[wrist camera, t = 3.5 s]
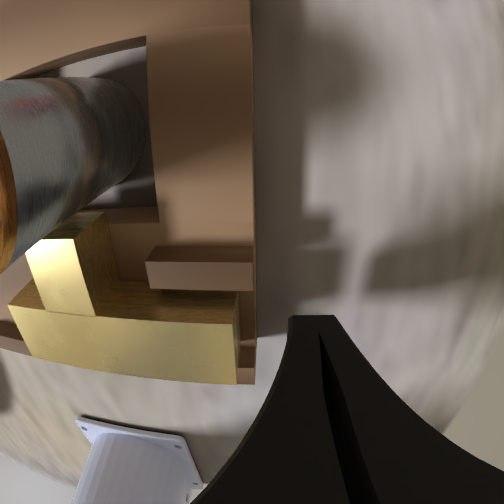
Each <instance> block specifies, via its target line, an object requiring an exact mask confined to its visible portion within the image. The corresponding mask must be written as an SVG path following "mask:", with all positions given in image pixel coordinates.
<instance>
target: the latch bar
mask: <svg viewBox="0 0 504 504" xmlns="http://www.w3.org/2000/svg"><path fill="white" fill-rule="evenodd" d="M25 254H26V257H27V260H28V263H29V266H30V269H31V272H32V275H33V279H32V280H31V281H30V282H29V283H28V284H27V285H26V286H25V287H24V288H23V289H22V290H21V291H20V292H19V293H18V294H17V295H16V296H15V297H14V298H13V299H12V300H11V301H10V302H9V303H8V308H9V310H10V312H11V314H12V316H13V319H14V321H15V323H16V325H17V327H18V329H19V331H20V333H21V335H22V337H23V339H24V341H25V343H26V345H27V347H28V349H29V351H30V353H31V354H32V356H33V357H35V358H39V359H43V360H47V361H52V362H56V363H61V364H66V365H70V366H75V367H81V368H86V369H91V370H97V371H103V372H109V373H116V374H122V375H129V376H137V377H144V378H153V379H162V380H172V381H182V382H195V383H210V384H229V385H237V377H238V367H239V358H240V348H241V331H240V311H239V291H222V290H180V289H151V288H150V284H149V281H135V280H120V277H119V273H118V269H117V265H116V260H115V256H114V252H113V247H112V242H111V238H110V233H109V228H108V222H107V217H106V212H105V211H101V212H83V213H75V214H73V215H72V216H71V217H69V218H68V219H67V220H65V221H64V222H63V223H62V224H60V225H59V226H58V227H56V228H55V229H54V230H53V231H51V232H50V233H49V234H48V235H46V236H45V237H44V238H43V239H41V240H40V241H39V242H38V243H36V244H35V245H34V246H33V247H32V248H30V249H29V250H28V251H27V252H26V253H25Z"/></svg>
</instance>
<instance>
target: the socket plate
mask: <svg viewBox="0 0 504 504" xmlns="http://www.w3.org/2000/svg"><path fill="white" fill-rule="evenodd" d="M142 46H146V51H147V85H148V105H149V121H150V135H151V147H152V158H153V169H154V178H155V187H156V196H157V204H158V207H133V208H112V209H94V210H79V211H77V212H76V213H83V212H101V211H105V212H106V217H107V222H108V228H109V233H110V238H111V242H112V247H113V252H114V256H115V260H116V265H117V269H118V273H119V277H120V280H135V281H149V284H150V288H151V289H180V290H222V291H239V311H240V331H241V348H240V358H239V367H238V377H237V384H253V385H255V367H256V347H257V306H256V228H255V160H254V100H253V46H252V0H0V81H4V80H16V79H30V78H31V77H34V76H36V75H39V74H42V73H45V72H47V71H50V70H53V69H56V68H59V67H62V66H66V65H69V64H72V63H75V62H79V61H82V60H86V59H89V58H93V57H97V56H101V55H105V54H109V53H113V52H118V51H122V50H127V49H132V48H137V47H142ZM32 279H33V275H32V272H31V269H30V266H29V263H28V260H27V257H26V254H25V253H24V254H23V255H22V256H21V257H20V258H19V259H18V260H16V261H15V262H14V263H13V264H12V265H11V266H10V267H8V268H7V269H6V270H5V271H4V272H3V273H2V274H1V275H0V348H3V349H7V350H10V351H14V352H18V353H21V354H25V355H29V356H32V354H31V353H30V351H29V349H28V347H27V345H26V343H25V341H24V339H23V337H22V335H21V333H20V331H19V329H18V327H17V325H16V323H15V321H14V319H13V316H12V314H11V312H10V310H9V308H8V303H9V302H10V301H11V300H12V299H13V298H14V297H15V296H16V295H17V294H18V293H19V292H20V291H21V290H22V289H23V288H24V287H25V286H26V285H27V284H28V283H29V282H30V281H31V280H32Z"/></svg>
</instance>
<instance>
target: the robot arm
mask: <svg viewBox="0 0 504 504" xmlns="http://www.w3.org/2000/svg"><path fill="white" fill-rule="evenodd" d="M75 422H76V424H77V425H78V426H79V428H80V429H81V430H82V432H83V433H84V435H85V436H86V437H87V438H88V440H89V441H90V442H91V444H92V447H91V450H90V452H89V455H88V458H87V460H86V463H85V466H84V469H83V471H82V474H81V477H80V480H79V483H78V486H77V488H76V492H75V494H74V497H73V500H72V503H71V504H189V500H190V493H191V488H192V489H203V482H202V480H201V478H200V475H199V473H198V471H197V468H196V466H195V464H194V461H193V459H192V456H191V454H190V451H189V449H188V446H187V443H186V441H185V439H184V438H183V437H181V436H178V435H171V434H164V433H157V432H150V431H144V430H138V429H133V428H128V427H122V426H118V425H113V424H108V423H104V422H99V421H95V420H91V419H87V418H83V417H77V419H76V421H75ZM190 504H504V471H502V470H500V469H498V468H496V467H494V466H492V465H490V464H488V463H486V462H484V461H482V460H480V459H478V458H477V457H475V456H473V455H471V454H470V453H468V452H467V451H465V450H464V449H462V448H461V447H459V446H457V445H456V444H454V443H453V442H452V441H450V440H449V439H447V438H446V437H445V436H444V435H442V434H441V433H440V432H438V431H437V430H436V429H434V428H433V427H432V426H431V425H429V424H428V423H427V422H425V421H424V420H423V419H422V418H421V417H420V416H419V415H417V414H416V413H415V412H414V411H413V410H412V409H411V408H410V407H409V406H408V405H407V404H406V403H405V402H404V401H403V400H402V399H401V398H400V397H399V396H398V395H397V394H396V393H395V392H394V391H393V390H392V389H391V388H390V387H389V386H388V385H387V383H386V382H385V381H384V380H383V379H382V378H381V377H380V376H379V374H378V373H377V372H376V371H375V370H374V368H373V367H372V366H371V365H370V363H369V362H368V361H367V360H366V358H365V357H364V356H363V354H362V353H361V352H360V351H359V349H358V348H357V347H356V345H355V344H354V342H353V341H352V340H351V338H350V337H349V335H348V334H347V333H346V331H345V330H344V328H343V327H342V325H341V324H340V322H339V321H338V319H337V318H336V317H335V316H334V315H293V316H291V317H290V318H289V319H288V332H287V342H286V347H285V350H284V354H283V357H282V360H281V363H280V366H279V369H278V372H277V374H276V377H275V379H274V382H273V384H272V386H271V389H270V391H269V393H268V395H267V397H266V400H265V402H264V404H263V406H262V407H261V409H260V411H259V413H258V415H257V417H256V418H255V420H254V422H253V424H252V425H251V427H250V429H249V430H248V432H247V433H246V435H245V437H244V438H243V440H242V441H241V443H240V444H239V446H238V447H237V449H236V450H235V451H234V453H233V454H232V456H231V457H230V458H229V459H228V461H227V462H226V463H225V465H224V466H223V467H222V468H221V470H220V471H219V472H218V473H217V475H216V476H215V477H214V478H213V480H212V481H211V482H210V483H209V484H208V485H207V487H206V488H205V489H204V490H203V491H202V492H201V493H200V494H199V495H198V496H197V497H196V498H195V499H194V500H193V501H192V502H191V503H190Z"/></svg>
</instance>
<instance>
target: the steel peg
mask: <svg viewBox="0 0 504 504" xmlns="http://www.w3.org/2000/svg"><path fill="white" fill-rule="evenodd" d="M144 138H145V126H144V119H143V115H142V111H141V109H140V106H139V104H138V102H137V101H136V99H135V97H134V96H133V95H132V94H131V92H130V91H129V90H128V89H126V88H125V87H124V86H123V85H121V84H120V83H118V82H116V81H113V80H110V79H105V78H85V77H58V78H31V79H16V80H4V81H0V275H1V274H2V273H3V272H4V271H5V270H6V269H7V268H8V267H10V266H11V265H12V264H13V263H14V262H15V261H16V260H18V259H19V258H20V257H21V256H22V255H23V254H24V253H26V252H27V251H28V250H29V249H30V248H32V247H33V246H34V245H35V244H36V243H38V242H39V241H40V240H41V239H43V238H44V237H45V236H46V235H48V234H49V233H50V232H51V231H53V230H54V229H55V228H56V227H58V226H59V225H60V224H62V223H63V222H64V221H65V220H67V219H68V218H69V217H71V216H72V215H73V214H75V213H76V212H77V211H79V210H80V209H82V208H83V207H84V206H86V205H87V204H88V203H90V202H91V201H93V200H94V199H96V198H97V197H98V196H100V195H101V194H103V193H104V192H106V191H107V190H108V189H110V188H111V187H113V186H114V185H116V184H117V183H119V182H120V181H122V180H123V179H124V178H125V177H127V176H128V175H129V173H130V172H131V171H132V170H133V168H134V167H135V165H136V164H137V162H138V160H139V158H140V155H141V152H142V149H143V145H144Z"/></svg>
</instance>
